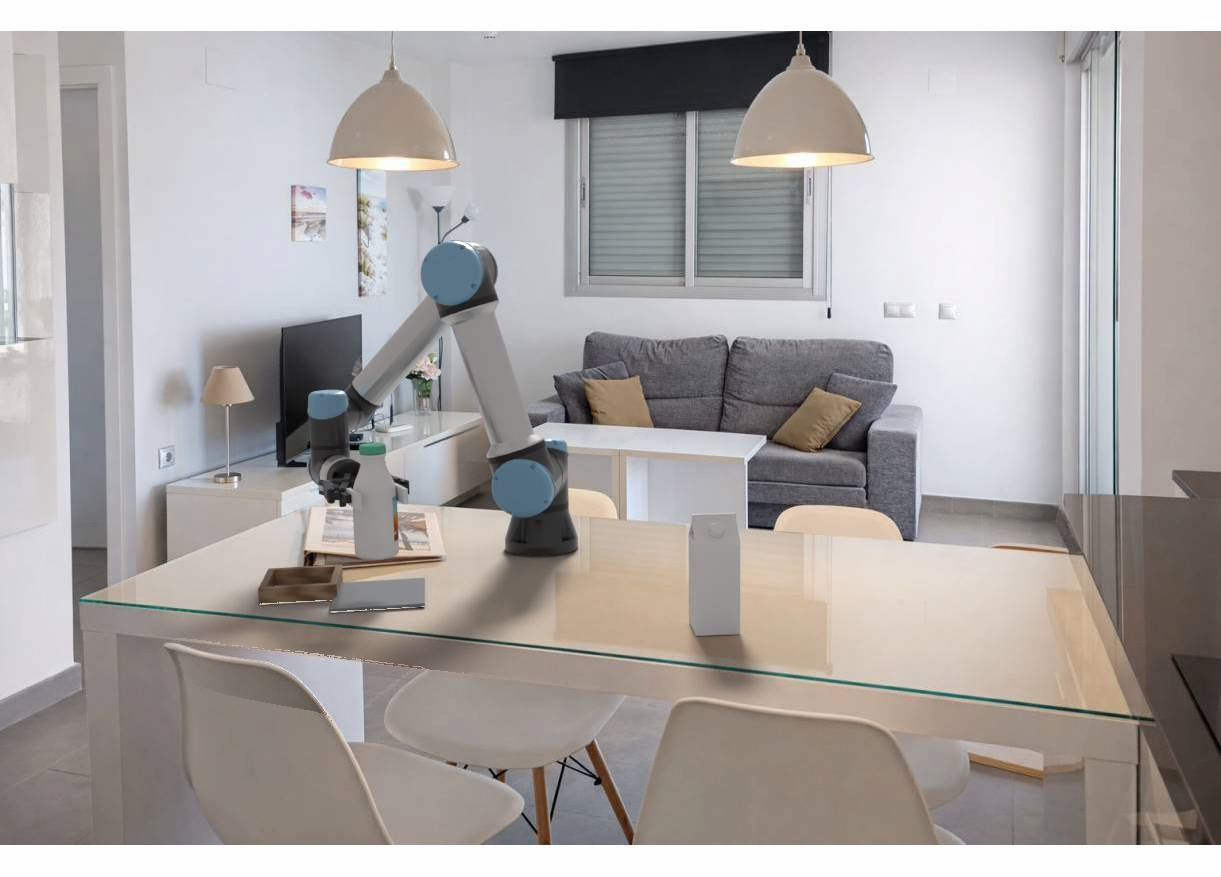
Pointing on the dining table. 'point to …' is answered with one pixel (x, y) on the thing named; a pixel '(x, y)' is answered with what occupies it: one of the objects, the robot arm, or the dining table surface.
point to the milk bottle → (375, 506)
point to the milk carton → (714, 574)
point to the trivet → (380, 594)
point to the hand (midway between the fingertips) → (382, 499)
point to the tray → (300, 576)
